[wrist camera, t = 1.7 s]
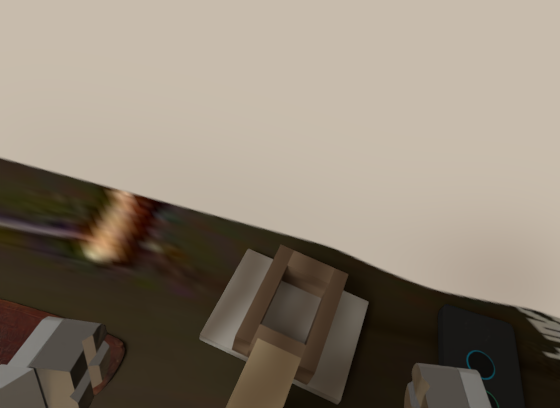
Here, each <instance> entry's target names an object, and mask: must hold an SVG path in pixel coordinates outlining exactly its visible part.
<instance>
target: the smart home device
mask: <svg viewBox="0 0 560 408" xmlns="http://www.w3.org/2000/svg"><path fill="white" fill-rule="evenodd" d="M438 348H439V365H440V366H449V367H455V368H464V369H472V370H477V371H478V372H479V374H480V376H481V379H482V382H483V385H484V387H485V390H486V393H487V396H488V399H489V401H490V404H491V407H492V408H525V403H524V396H523V389H522V382H521V375H520V368H519V361H518V355H517V348H516V341H515V334H514V330H513V328H512V326H511V325H510V324H509V323H507V322H503V321H500V320H497V319H493V318H490V317H487V316H483V315H480V314H477V313H473V312H470V311H467V310H464V309H460V308H457V307H454V306H450V305H447V304H446V305H444V306H443V307H442V308H441V309H440V311H439V313H438Z"/></svg>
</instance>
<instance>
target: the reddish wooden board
mask: <svg viewBox="0 0 560 408" xmlns="http://www.w3.org/2000/svg"><path fill="white" fill-rule="evenodd" d="M48 316H51V317H58V318H62V317H59V316H56V315H53V314H50V313H47V312H44V311H39V310H37V309H34V308H30V307H27V306H23V305H20V304H17V303H13V302H10V301H6V300H2V299H0V365H1V364H4V365H7V364H8V363H9V362H10V360H11V359H12V358H13V357H14V355H15V354H16V353H17V351H18V350H19V349H20V348H21V346H22V345H23V344H24V343H25V341H26V340H27V339H28V337H29V336H30V335H31V334H32V332H33V331H34V330H35V328H36V327H37V326H38V325H39V323H40V322H41V321H42V320H43V319H44V318H46V317H48ZM65 319H66V318H65ZM104 341H105V342H106V343H107V344H108V345H109V346H110V352H111V355H110V363H109V367H108V371H107V373H106V375H105V377H104V379H103V381H102V382H101V383H100V384H98V385H97V386H96V387H94V388H93V393H94V395H96V394H98V393H99V392H100V391H101V390H102V389H103V388H104V387H105V386H106V385H107V384H108V383H109V381H110V380H111V379H112V377H113V375H114V374H115V372H116V370H117V369H118V367H119V365H120V363H121V361H122V359H123V356H124V354H125V348H124V346H123V343H122V341H120V340H119V339H118V338H115V337H113V336H111V335H108V334H107V336H106V337H105V339H104Z"/></svg>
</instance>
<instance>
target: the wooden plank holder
mask: <svg viewBox="0 0 560 408" xmlns="http://www.w3.org/2000/svg"><path fill="white" fill-rule="evenodd" d="M348 275H349V274H347V273H345V272H342V271H340V270H338V269H335V268H333V267H331V266H329V265H326V264H324V263H322V262H319V261H317V260H315V259H312V258H310V257H308V256H306V255H303V254H301V253H299V252H296V251H294V250H292V249H290V248H287V247H285V246H283V245H280V247H279V249H278V251H277V253H276V255H275V257H274V259H271V258H269V257H266V256H264V255H262V254H259V253H257V252H255V251H253V250H250V249H248V250H247V252H246V254H245V255H244V257H243V259H242V261H241V262H240V264H239V266H238V268H237V270H236V271H235V273H234V275H233V277H232V278H231V280H230V282H229V284H228V286H227V287H226V289H225V291H224V293H223V295H222V296H221V298H220V300H219V302H218V303H217V305H216V307H215V309H214V311H213V312H212V314H211V316H210V318H209V319H208V321H207V323H206V325H205V327H204V328H203V330H202V332H201V334H200V338H199V339H200V340H202V341H204V342H206V343H208V344H210V345H212V346H215V347H217V348H219V349H221V350H223V351H225V352H227V353H229V354H231V355H234V356H236V357H238V358H240V359H242V360H244V361H246V362H247V361H248V358H249V356H250V354H251V352H252V350H253V347H254V345H255V343H256V341H257V339H258V338H259V339H261V340H263V341H265V342H267V343H269V344H272V345H274V346H276V347H278V348H280V349H282V350H285V351H287V352H289V353H291V354H293V355H295V356H297V357H300V358H301V360H300V363H299V366H298V368H297V371H296V374H295V376H294V379H293V382H292V383H293V384H295V385H297V386H299V387H301V388H303V389H305V390H308V391H310V392H312V393H314V394H316V395H318V396H320V397H322V398H324V399H327V400H329V401H331V402H333V403H335V404H337V405H338V403H339V402H340V401H341V398H342V394H343V391H344V387H345V384H346V380H347V377H348V373H349V370H350V366H351V363H352V359H353V356H354V352H355V349H356V345H357V342H358V338H359V335H360V331H361V327H362V324H363V320H364V317H365V313H366V310H367V306H368V303H369V302H368V301H366V300H363V299H361V298H359V297H357V296H354V295H352V294H350V293H348V292H345V291H343V289H344V286H345V283H346V280H347V277H348Z"/></svg>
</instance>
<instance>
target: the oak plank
mask: <svg viewBox="0 0 560 408" xmlns="http://www.w3.org/2000/svg"><path fill="white" fill-rule="evenodd" d="M300 360H301V358H300V357H297V356H295V355H293V354H291V353H289V352H287V351H285V350H282V349H280V348H278V347H276V346H274V345H272V344H269V343H267V342H265V341H263V340H261V339H259V338H258V339H257V341H256V343H255V345H254V347H253V350H252V352H251V354H250V356H249V358H248V361H247V363H246V365H245V367H244V369H243V371H242V374H241V376H240V378H239V380H238V382H237V385H236V387H235V389H234V391H233V393H232V395H231V398H230V400H229V402H228V404H227V406H226V408H283V406H284V403H285V401H286V398H287V395H288V393H289V390H290V387H291V385H292V382H293V379H294V376H295V374H296V371H297V368H298V366H299V363H300Z"/></svg>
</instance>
